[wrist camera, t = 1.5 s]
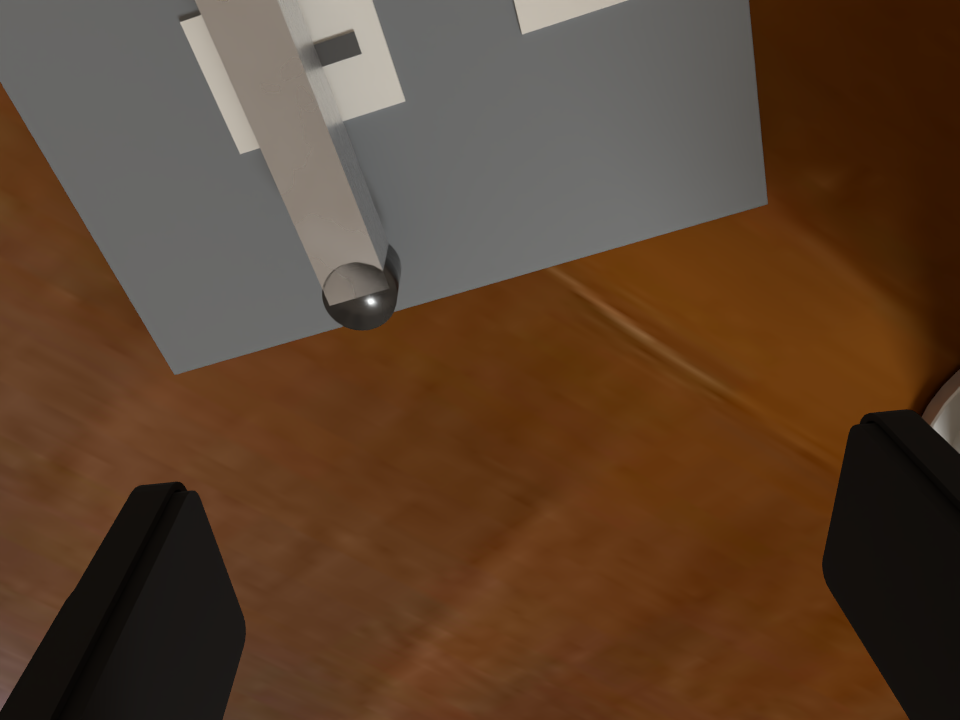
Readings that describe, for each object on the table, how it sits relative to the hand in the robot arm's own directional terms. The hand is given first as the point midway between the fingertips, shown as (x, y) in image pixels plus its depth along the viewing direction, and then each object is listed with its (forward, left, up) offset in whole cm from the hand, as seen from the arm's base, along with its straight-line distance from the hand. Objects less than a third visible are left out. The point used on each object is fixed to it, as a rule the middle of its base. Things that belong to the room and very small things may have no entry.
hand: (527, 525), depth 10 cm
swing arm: (+5, -6, -20) cm, 22 cm away
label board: (+2, -6, -23) cm, 24 cm away
